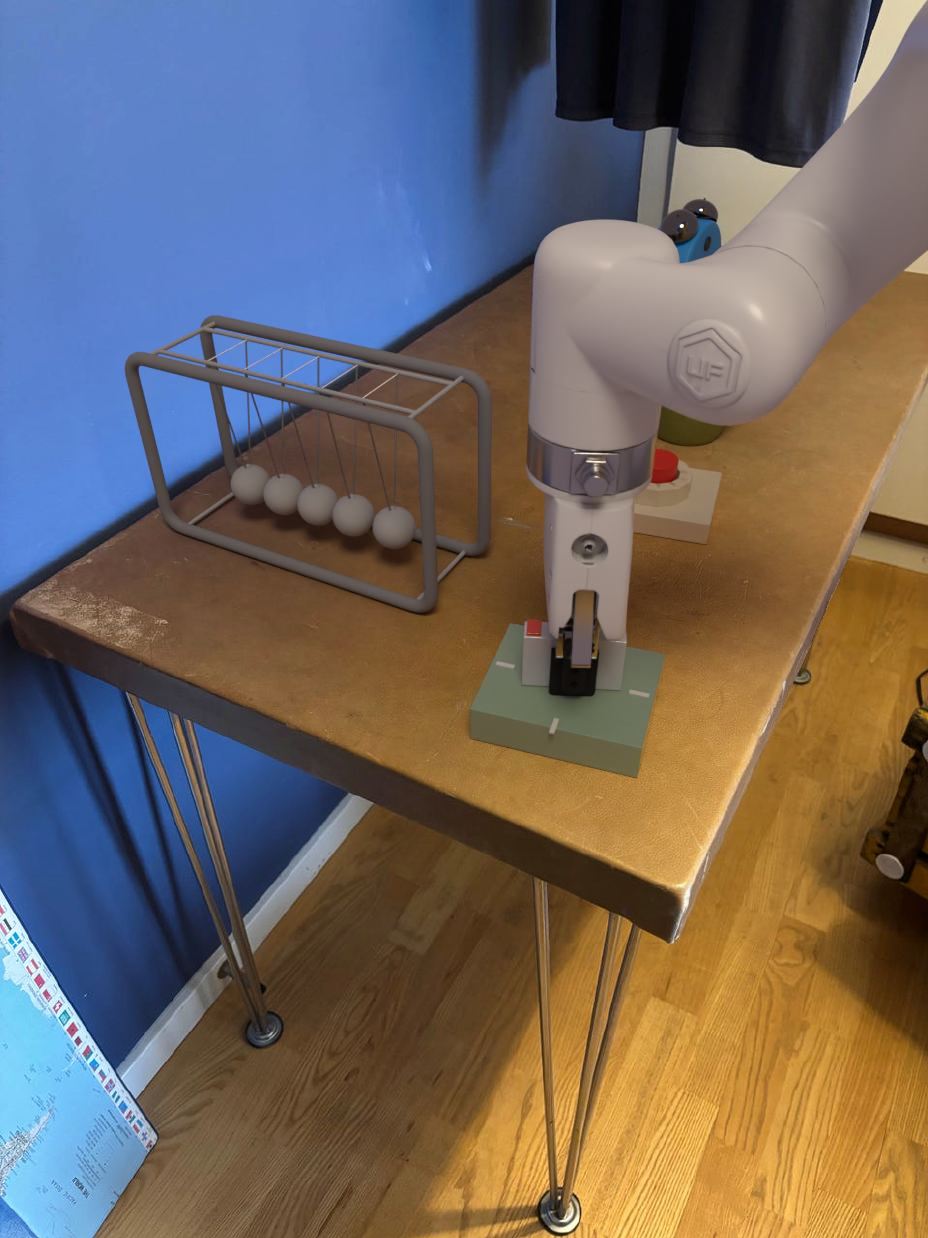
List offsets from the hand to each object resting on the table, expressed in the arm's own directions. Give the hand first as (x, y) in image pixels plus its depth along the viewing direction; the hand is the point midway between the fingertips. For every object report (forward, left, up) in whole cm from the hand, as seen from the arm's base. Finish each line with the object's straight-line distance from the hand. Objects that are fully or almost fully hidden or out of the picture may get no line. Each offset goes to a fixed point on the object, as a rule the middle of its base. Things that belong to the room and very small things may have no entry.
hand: (570, 678), depth 65 cm
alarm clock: (+4, -81, -3) cm, 81 cm away
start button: (-1, -30, 0) cm, 30 cm away
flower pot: (-2, -47, -3) cm, 47 cm away
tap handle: (0, 0, 0) cm, 0 cm away
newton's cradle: (+27, -14, -3) cm, 31 cm away
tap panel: (0, 0, -3) cm, 3 cm away
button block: (-1, -30, -3) cm, 30 cm away
